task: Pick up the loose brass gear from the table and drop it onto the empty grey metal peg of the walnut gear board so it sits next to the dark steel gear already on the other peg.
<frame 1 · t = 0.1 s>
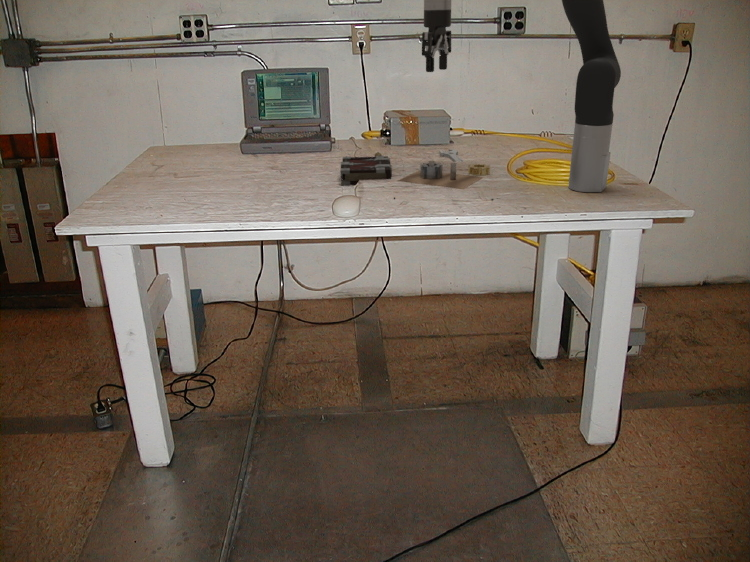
hand: (436, 70, 176), 29 cm above the table, tool pointing down, fingers open, 8 cm apart
steel gear: (431, 176, 176), point 1 cm above the table, touching gear board
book: (366, 176, 187), on the table
gear board: (440, 184, 174), on the table
brass gear: (478, 178, 179), on the table
adjustable wrench: (453, 162, 201), on the table
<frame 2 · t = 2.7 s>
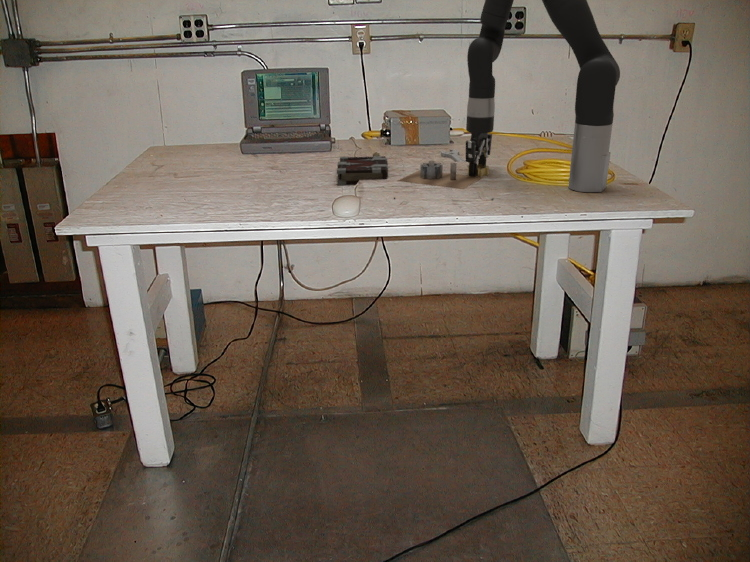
hand: (477, 173, 178), 1 cm above the table, tool pointing down, fingers closed on brass gear, 6 cm apart
brass gear: (477, 178, 179), on the table, touching gripper
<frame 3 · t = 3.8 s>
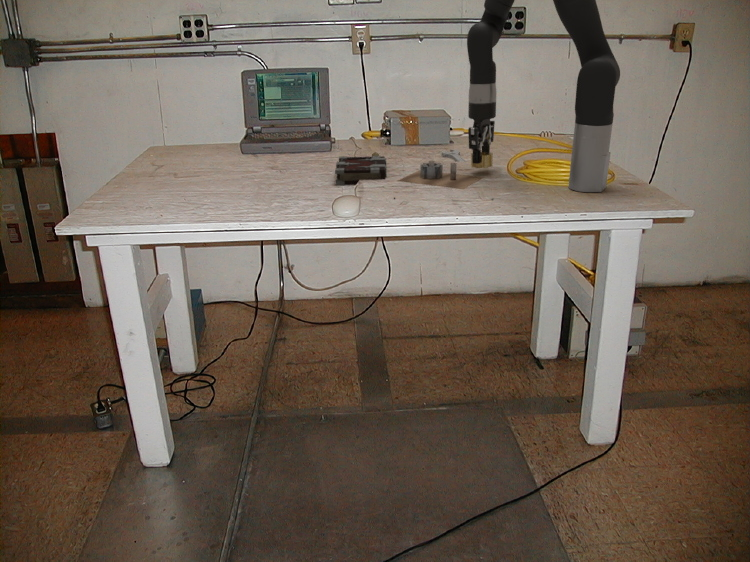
hand: (481, 160, 177), 5 cm above the table, tool pointing down, fingers closed on brass gear, 6 cm apart
brass gear: (481, 165, 178), point 4 cm above the table, touching gripper
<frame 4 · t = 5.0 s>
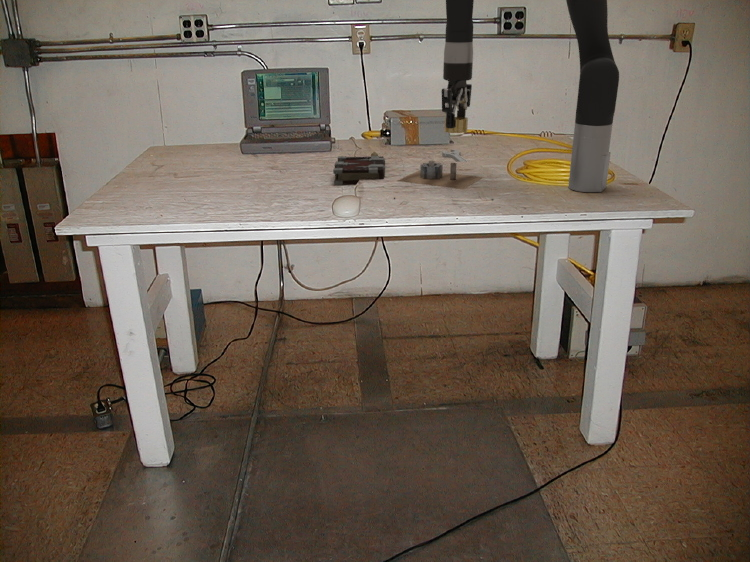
hand: (455, 125, 168), 16 cm above the table, tool pointing down, fingers closed on brass gear, 6 cm apart
brass gear: (455, 131, 168), point 15 cm above the table, touching gripper
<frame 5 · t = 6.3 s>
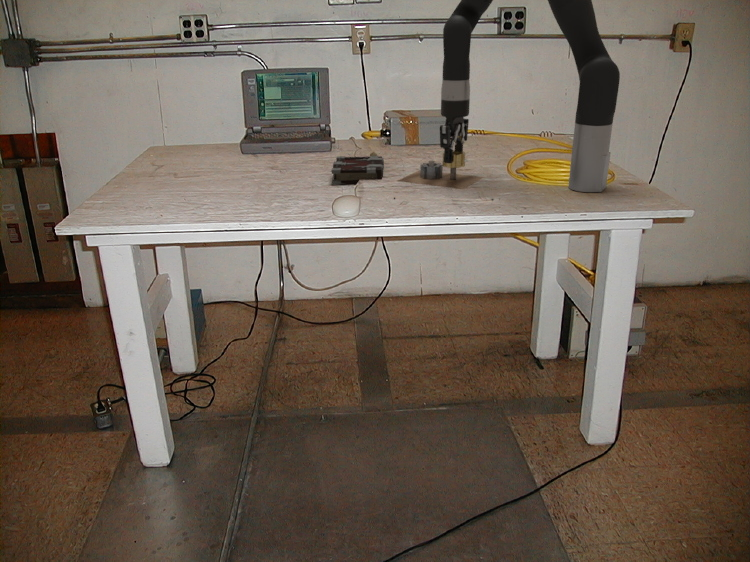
hand: (453, 160, 171), 7 cm above the table, tool pointing down, fingers closed on brass gear, 6 cm apart
brass gear: (453, 165, 171), point 5 cm above the table, touching gripper
when the fingers open (4 cm above the table, at t = 7.4 s): brass gear stays where it is, resting on gear board.
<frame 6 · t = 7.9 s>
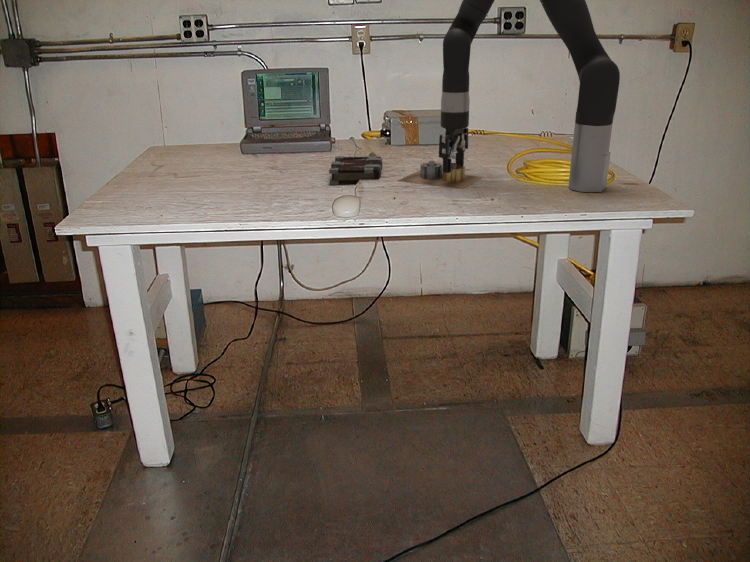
hand: (453, 169, 172), 4 cm above the table, tool pointing down, fingers open, 8 cm apart
brass gear: (453, 179, 173), point 1 cm above the table, touching gear board
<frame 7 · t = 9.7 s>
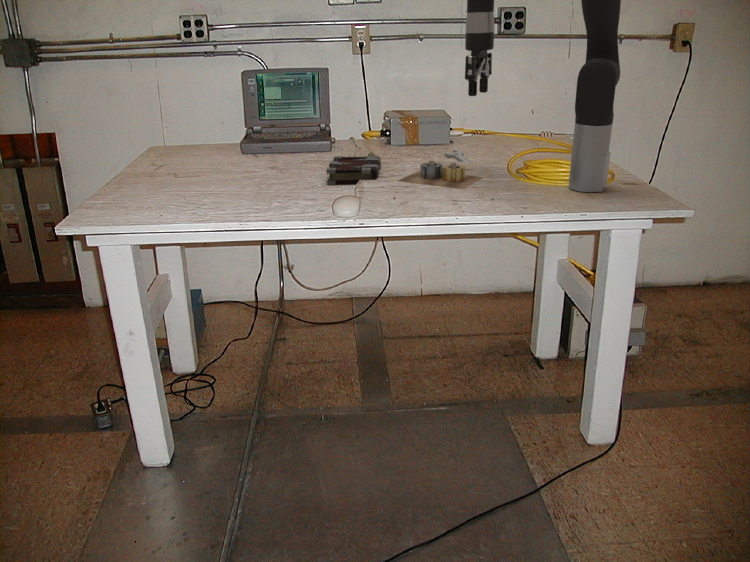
hand: (478, 94, 171), 23 cm above the table, tool pointing down, fingers open, 8 cm apart
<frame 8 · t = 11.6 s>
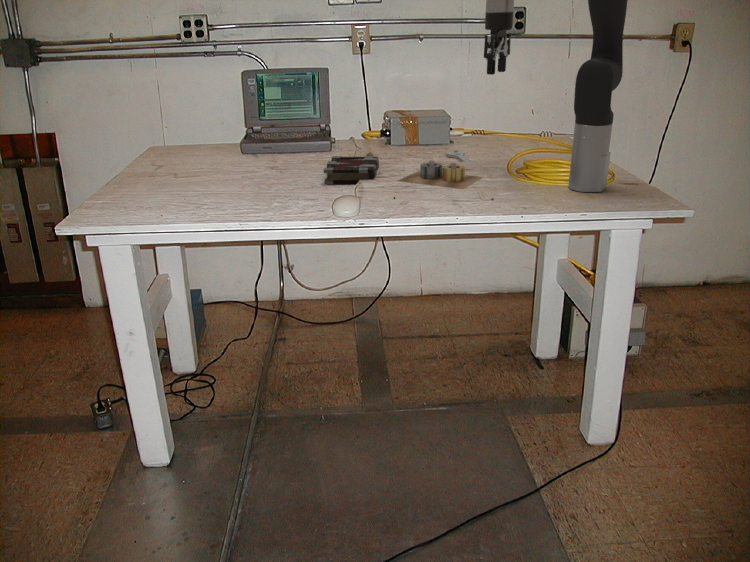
hand: (496, 73, 176), 28 cm above the table, tool pointing down, fingers open, 8 cm apart
at the end: brass gear 0.2 cm from the target spot on the gear board, point 1.5 cm above the gear board's base; brass gear tilted 0°; the gripper is holding nothing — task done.
